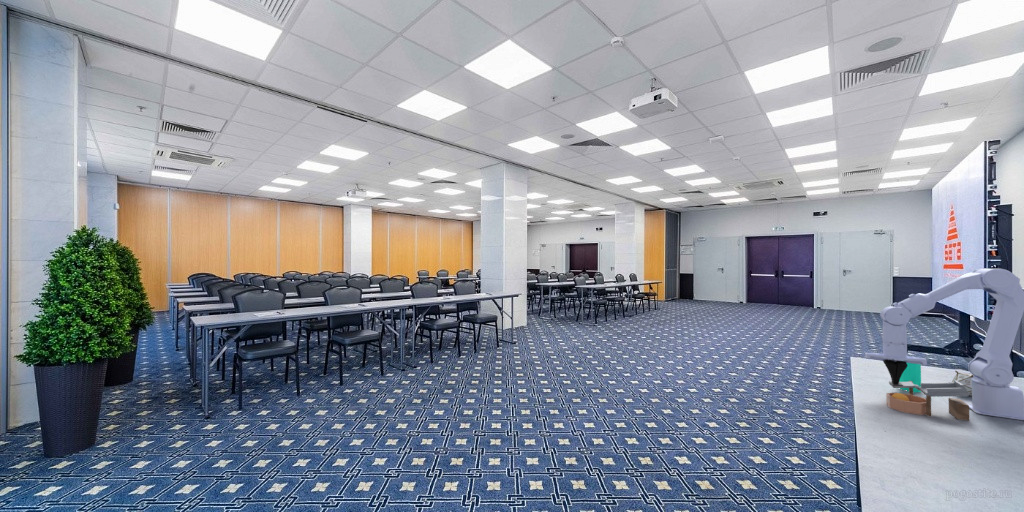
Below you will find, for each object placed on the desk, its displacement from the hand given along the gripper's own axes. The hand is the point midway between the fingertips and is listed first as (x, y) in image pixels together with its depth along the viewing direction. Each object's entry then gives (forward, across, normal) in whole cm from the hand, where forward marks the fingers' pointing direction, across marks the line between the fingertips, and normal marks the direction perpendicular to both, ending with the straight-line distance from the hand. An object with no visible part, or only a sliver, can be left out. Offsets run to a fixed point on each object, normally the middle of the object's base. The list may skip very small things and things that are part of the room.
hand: (895, 383), depth 127 cm
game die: (+6, +22, +18) cm, 29 cm away
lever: (0, +6, -5) cm, 8 cm away
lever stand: (+5, +9, -5) cm, 11 cm away
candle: (+6, +7, +16) cm, 19 cm away
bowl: (+6, +1, -9) cm, 10 cm away
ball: (+3, -1, -9) cm, 9 cm away
